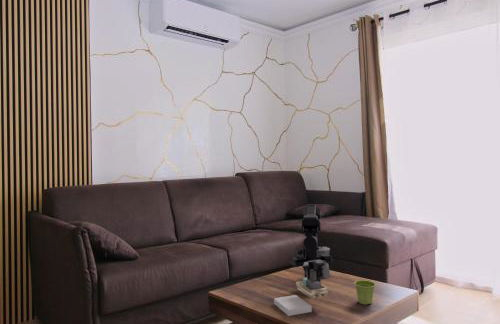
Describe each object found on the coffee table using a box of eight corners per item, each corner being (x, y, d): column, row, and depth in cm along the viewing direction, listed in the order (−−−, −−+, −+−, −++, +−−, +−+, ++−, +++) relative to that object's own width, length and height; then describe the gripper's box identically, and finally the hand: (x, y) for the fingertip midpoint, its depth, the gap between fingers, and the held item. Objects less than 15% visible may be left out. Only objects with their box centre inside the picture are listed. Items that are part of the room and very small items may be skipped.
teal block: (310, 283, 188) (310, 277, 188) (313, 285, 185) (313, 278, 185) (302, 284, 186) (302, 278, 186) (306, 286, 183) (305, 280, 183)
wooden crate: (313, 286, 190) (312, 265, 190) (328, 296, 178) (328, 273, 178) (296, 289, 187) (295, 268, 187) (310, 299, 175) (310, 276, 174)
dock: (295, 300, 188) (295, 294, 188) (311, 311, 174) (311, 306, 174) (274, 303, 184) (274, 298, 184) (288, 315, 170) (288, 310, 170)
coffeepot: (319, 271, 233) (318, 240, 232) (334, 273, 228) (334, 241, 227) (307, 278, 220) (307, 245, 219) (324, 281, 215) (323, 247, 214)
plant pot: (377, 300, 186) (377, 281, 186) (374, 307, 177) (374, 287, 177) (356, 297, 190) (356, 279, 190) (352, 304, 181) (352, 285, 181)
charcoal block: (317, 287, 182) (317, 281, 182) (321, 289, 179) (321, 283, 179) (309, 288, 180) (309, 282, 180) (313, 291, 177) (313, 284, 177)
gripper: (319, 239, 193) (320, 271, 193) (284, 243, 186) (285, 276, 187) (332, 243, 183) (333, 278, 183) (295, 248, 176) (296, 283, 176)
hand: (311, 279), depth 182 cm, fingers closed on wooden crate, 3 cm apart
